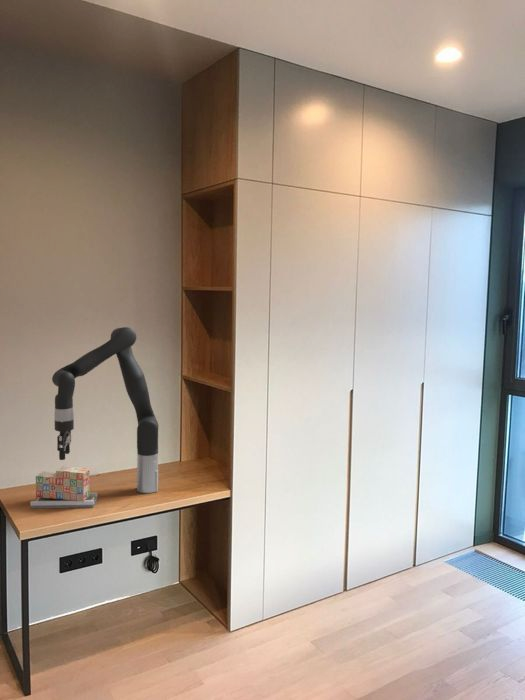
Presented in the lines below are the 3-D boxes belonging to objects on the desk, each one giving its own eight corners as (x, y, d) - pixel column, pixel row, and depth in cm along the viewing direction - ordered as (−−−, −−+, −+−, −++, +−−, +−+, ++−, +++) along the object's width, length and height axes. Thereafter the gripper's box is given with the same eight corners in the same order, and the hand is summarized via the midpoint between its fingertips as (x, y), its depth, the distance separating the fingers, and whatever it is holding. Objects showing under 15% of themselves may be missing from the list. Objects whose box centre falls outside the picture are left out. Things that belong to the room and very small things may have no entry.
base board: (97, 498, 244) (97, 492, 244) (93, 507, 234) (93, 501, 234) (37, 499, 241) (37, 493, 241) (30, 508, 231) (30, 502, 231)
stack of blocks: (35, 497, 236) (35, 468, 235) (43, 492, 242) (43, 464, 241) (83, 501, 233) (83, 472, 232) (90, 496, 239) (90, 468, 238)
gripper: (58, 414, 240) (59, 451, 242) (50, 422, 226) (51, 461, 228) (76, 414, 241) (77, 451, 243) (69, 422, 227) (70, 461, 229)
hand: (64, 456), depth 235 cm, fingers open, 8 cm apart
